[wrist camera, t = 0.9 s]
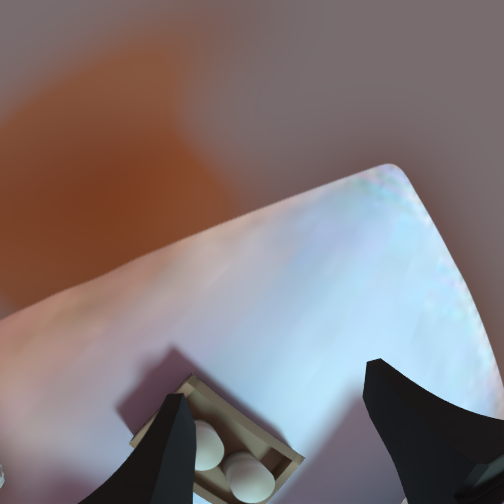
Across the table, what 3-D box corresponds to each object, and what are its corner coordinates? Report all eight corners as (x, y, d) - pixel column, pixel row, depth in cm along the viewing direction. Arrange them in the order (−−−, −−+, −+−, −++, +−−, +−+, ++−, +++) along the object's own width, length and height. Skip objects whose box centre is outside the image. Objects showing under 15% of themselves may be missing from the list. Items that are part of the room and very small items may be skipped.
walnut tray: (239, 509, 22) (254, 538, 17) (133, 436, 23) (123, 453, 17) (293, 450, 25) (319, 467, 20) (191, 373, 26) (195, 375, 20)
